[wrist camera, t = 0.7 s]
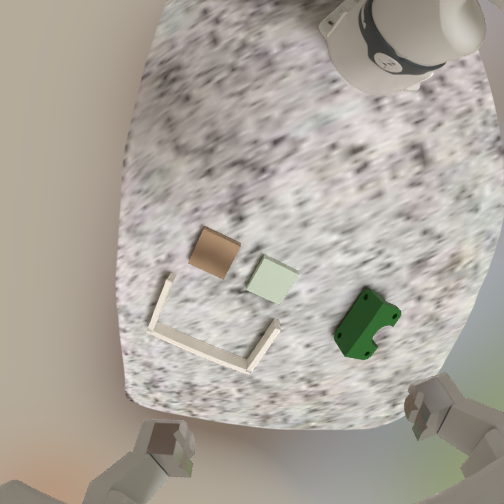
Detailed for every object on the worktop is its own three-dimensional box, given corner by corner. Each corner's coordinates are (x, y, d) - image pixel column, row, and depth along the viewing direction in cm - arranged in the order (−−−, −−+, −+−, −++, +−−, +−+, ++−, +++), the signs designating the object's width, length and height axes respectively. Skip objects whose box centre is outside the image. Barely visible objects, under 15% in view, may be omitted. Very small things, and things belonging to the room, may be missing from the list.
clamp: (352, 324, 54) (360, 364, 47) (330, 317, 52) (337, 360, 45) (396, 290, 46) (411, 333, 40) (375, 280, 44) (390, 326, 38)
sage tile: (264, 253, 45) (264, 257, 43) (297, 269, 46) (298, 274, 44) (246, 284, 47) (246, 289, 45) (278, 299, 48) (279, 304, 46)
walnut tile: (205, 225, 44) (203, 229, 42) (240, 242, 44) (240, 246, 43) (190, 258, 45) (188, 263, 43) (224, 274, 46) (223, 279, 44)
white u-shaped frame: (171, 272, 46) (166, 279, 43) (279, 320, 49) (280, 330, 46) (151, 322, 49) (146, 332, 46) (249, 364, 52) (249, 374, 49)
